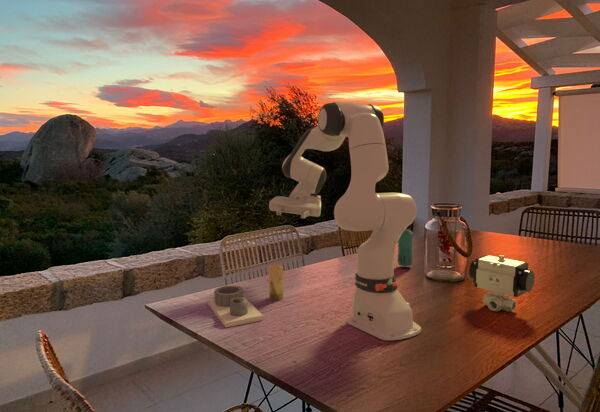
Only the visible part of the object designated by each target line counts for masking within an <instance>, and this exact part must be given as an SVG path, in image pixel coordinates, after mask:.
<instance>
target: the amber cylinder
mask: <svg viewBox="0 0 600 412" xmlns="http://www.w3.org/2000/svg"><path fill="white" fill-rule="evenodd" d="M283 266H284V265H283V264H282V263H275V262H274V263H270V264H268V299H269V300H270V301H275V302H277V301H282V300H283V299H284V274H283V273H284V270H283V269H284V267H283Z"/></svg>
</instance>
